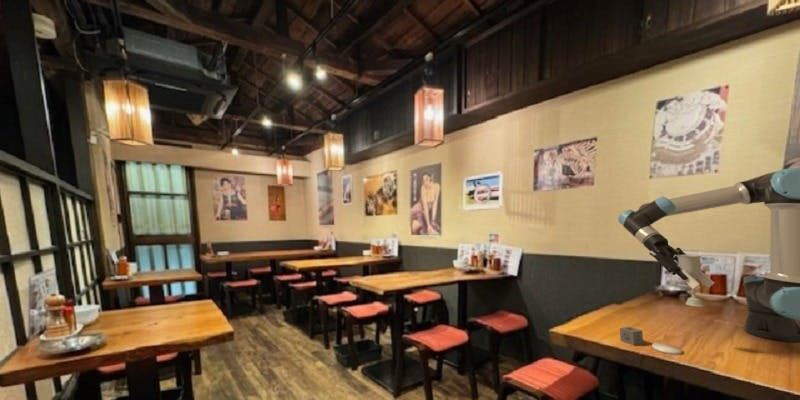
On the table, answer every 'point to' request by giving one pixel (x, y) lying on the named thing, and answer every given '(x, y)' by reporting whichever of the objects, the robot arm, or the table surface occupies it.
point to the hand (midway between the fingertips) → (703, 285)
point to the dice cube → (631, 336)
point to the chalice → (691, 274)
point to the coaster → (667, 348)
